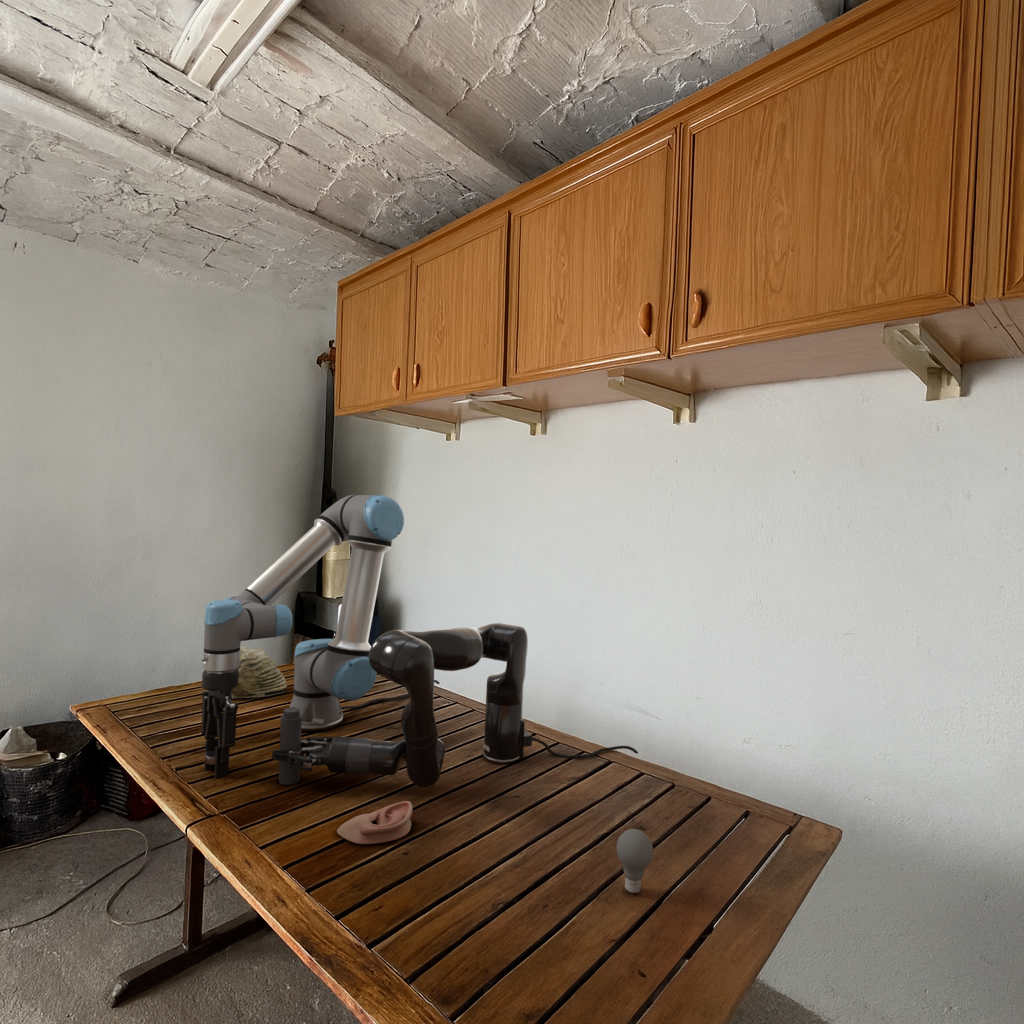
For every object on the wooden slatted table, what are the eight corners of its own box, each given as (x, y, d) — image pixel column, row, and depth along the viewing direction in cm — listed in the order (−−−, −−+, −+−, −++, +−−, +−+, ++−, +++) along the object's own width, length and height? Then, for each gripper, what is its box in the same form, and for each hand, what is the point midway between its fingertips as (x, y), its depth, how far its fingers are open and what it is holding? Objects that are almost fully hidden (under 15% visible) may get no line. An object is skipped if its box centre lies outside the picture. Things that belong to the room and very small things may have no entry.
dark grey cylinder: (276, 785, 138) (278, 713, 138) (281, 776, 143) (283, 706, 142) (297, 784, 139) (299, 713, 138) (301, 775, 143) (304, 706, 143)
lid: (230, 762, 142) (230, 754, 142) (206, 766, 140) (206, 758, 140) (225, 754, 146) (226, 747, 146) (202, 758, 144) (202, 751, 144)
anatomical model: (329, 818, 117) (357, 790, 128) (328, 839, 117) (356, 810, 128) (397, 828, 114) (419, 799, 126) (396, 850, 114) (418, 819, 126)
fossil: (218, 695, 195) (220, 647, 195) (278, 685, 208) (279, 640, 207) (228, 703, 189) (230, 653, 188) (289, 692, 201) (290, 645, 201)
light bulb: (610, 879, 108) (613, 822, 108) (644, 879, 109) (647, 822, 109) (619, 902, 102) (622, 840, 102) (655, 901, 103) (658, 840, 103)
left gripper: (188, 663, 146) (183, 763, 146) (221, 681, 134) (216, 790, 134) (220, 658, 152) (216, 755, 152) (255, 675, 140) (250, 780, 140)
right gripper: (363, 727, 147) (291, 722, 148) (343, 751, 132) (263, 745, 134) (362, 759, 147) (290, 754, 148) (341, 787, 133) (262, 780, 134)
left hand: (216, 771), depth 143 cm, fingers closed on lid, 5 cm apart
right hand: (278, 750), depth 141 cm, fingers closed on dark grey cylinder, 4 cm apart
